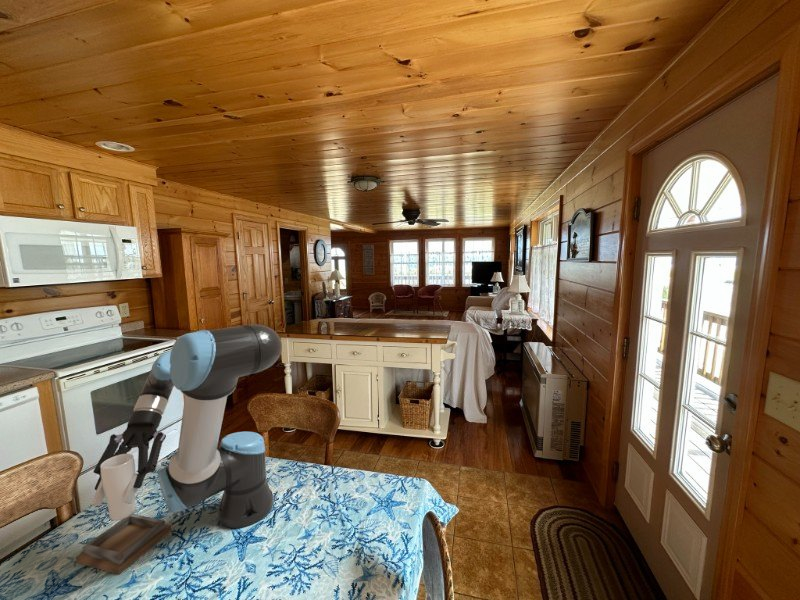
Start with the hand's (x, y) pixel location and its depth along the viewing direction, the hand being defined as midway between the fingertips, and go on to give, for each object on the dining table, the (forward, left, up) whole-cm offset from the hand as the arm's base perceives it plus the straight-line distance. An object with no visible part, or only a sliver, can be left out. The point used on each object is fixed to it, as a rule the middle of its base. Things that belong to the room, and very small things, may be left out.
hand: (111, 503), depth 84 cm
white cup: (+1, -3, -6) cm, 7 cm away
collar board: (+1, -3, -14) cm, 14 cm away
